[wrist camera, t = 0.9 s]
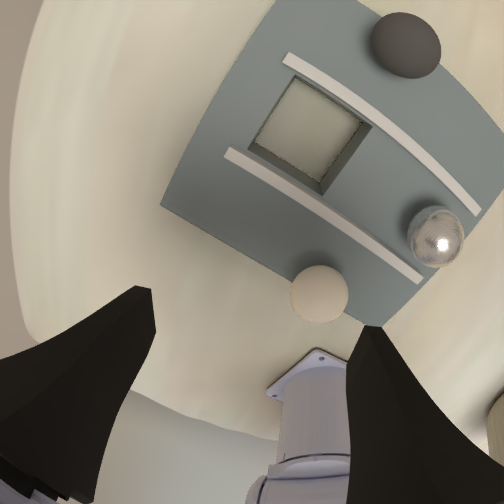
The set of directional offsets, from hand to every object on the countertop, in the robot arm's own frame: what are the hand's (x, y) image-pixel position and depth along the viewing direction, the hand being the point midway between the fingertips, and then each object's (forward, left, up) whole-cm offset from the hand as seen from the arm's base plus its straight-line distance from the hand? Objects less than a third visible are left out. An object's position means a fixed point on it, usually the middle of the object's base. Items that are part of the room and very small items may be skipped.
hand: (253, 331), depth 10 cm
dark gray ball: (0, -12, -6) cm, 13 cm away
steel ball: (-7, -5, -6) cm, 11 cm away
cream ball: (-4, +1, -6) cm, 7 cm away
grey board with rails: (-2, -5, -10) cm, 12 cm away
